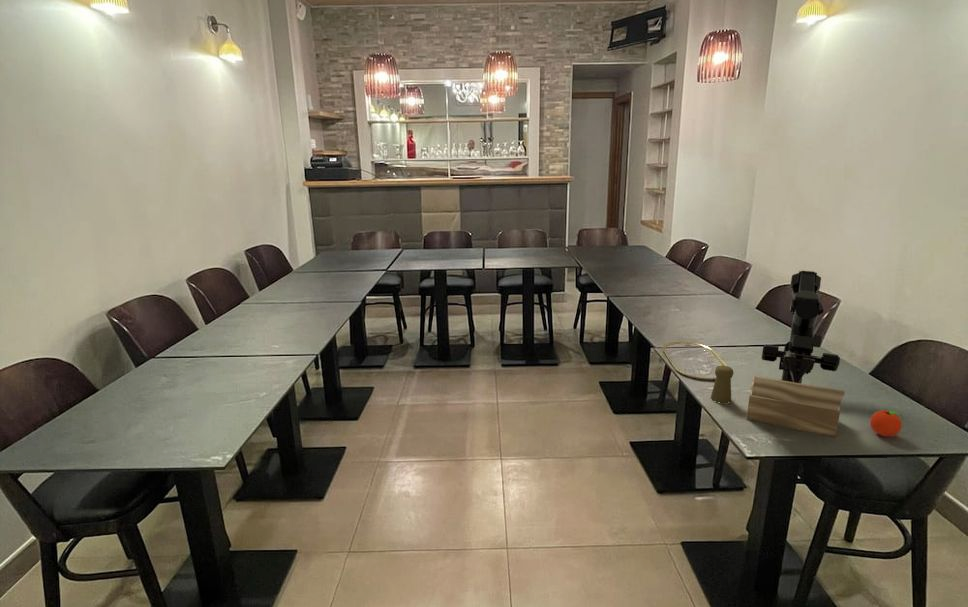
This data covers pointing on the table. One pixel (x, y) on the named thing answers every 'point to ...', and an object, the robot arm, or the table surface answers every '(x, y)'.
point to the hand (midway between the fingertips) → (795, 385)
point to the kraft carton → (793, 415)
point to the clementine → (886, 423)
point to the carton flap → (797, 393)
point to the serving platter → (695, 344)
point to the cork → (722, 384)
